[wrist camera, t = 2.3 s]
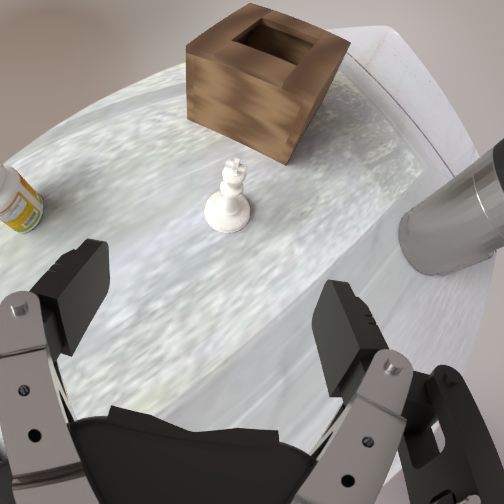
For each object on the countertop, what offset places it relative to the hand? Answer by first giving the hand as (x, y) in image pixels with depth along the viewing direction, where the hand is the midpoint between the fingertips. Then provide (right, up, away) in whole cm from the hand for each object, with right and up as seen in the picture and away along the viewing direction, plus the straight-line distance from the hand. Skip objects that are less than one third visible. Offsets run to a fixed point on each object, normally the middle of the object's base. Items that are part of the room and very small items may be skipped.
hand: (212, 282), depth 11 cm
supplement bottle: (-26, +6, +18) cm, 32 cm away
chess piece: (-1, +5, +22) cm, 23 cm away
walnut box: (+2, +21, +27) cm, 34 cm away
